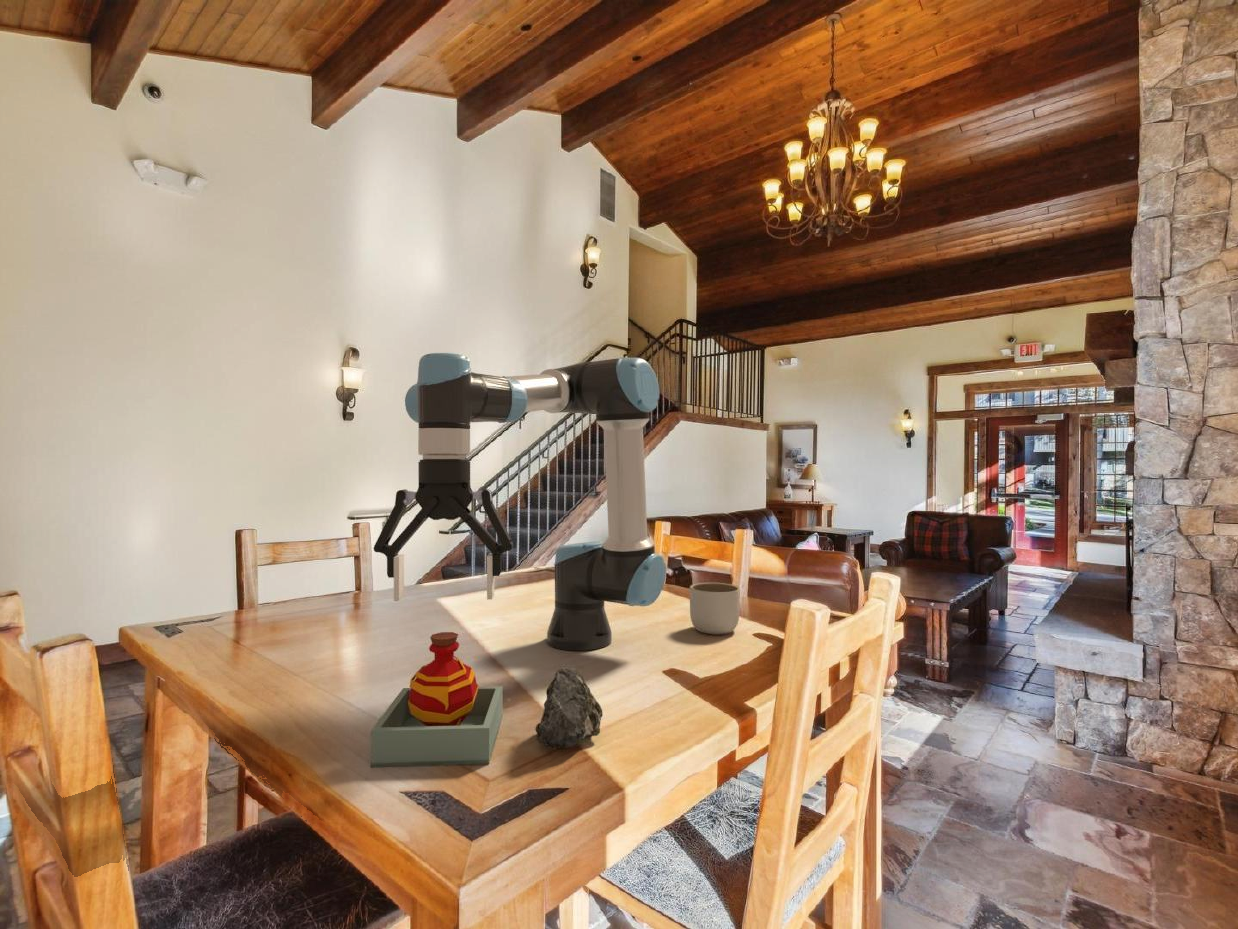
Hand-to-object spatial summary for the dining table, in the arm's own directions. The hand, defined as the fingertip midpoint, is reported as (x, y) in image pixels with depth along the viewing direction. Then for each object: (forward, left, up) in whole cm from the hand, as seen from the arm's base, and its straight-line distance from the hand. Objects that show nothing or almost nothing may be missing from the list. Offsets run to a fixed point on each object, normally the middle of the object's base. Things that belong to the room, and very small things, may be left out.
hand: (445, 598), depth 92 cm
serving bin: (0, 0, -21) cm, 21 cm away
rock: (-19, +2, -22) cm, 29 cm away
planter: (-55, -58, -22) cm, 82 cm away
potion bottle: (0, 0, -21) cm, 21 cm away
